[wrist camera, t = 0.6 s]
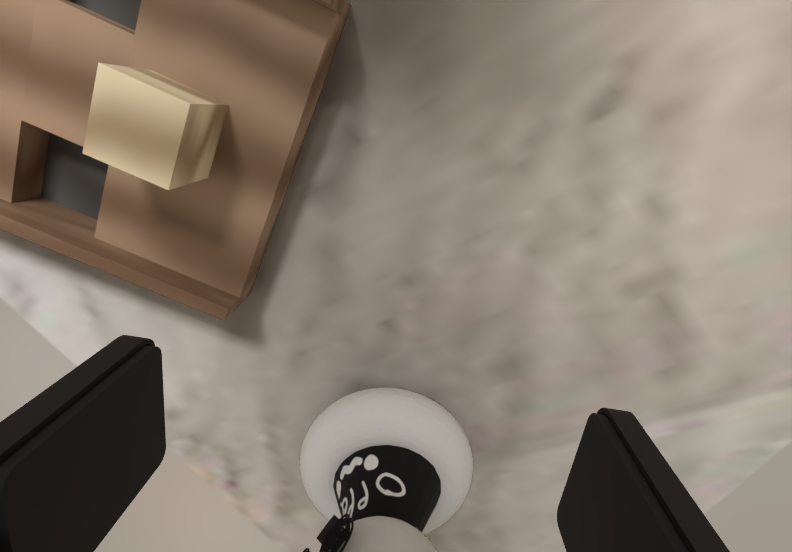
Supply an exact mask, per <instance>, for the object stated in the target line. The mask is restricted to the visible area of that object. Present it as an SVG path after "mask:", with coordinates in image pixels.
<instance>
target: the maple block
mask: <svg viewBox="0 0 792 552" xmlns="http://www.w3.org/2000/svg"><path fill="white" fill-rule="evenodd" d="M227 109H228V104H225V103H223V102H221V101H219V100H217V99H214V98H212V97H210V96H208V95H206V94H203V93H201V92H199V91H197V90H195V89H192V88H190V87H188V86H186V85H184V84H181V83H179V82H177V81H175V80H173V79H170V78H168V77H166V76H164V75H162V74H159V73H157V72H155V71H153V70H146V69H139V68H133V67H126V66H119V65H112V64H105V63H99V62H98V67H97V73H96V78H95V84H94V90H93V95H92V101H91V107H90V112H89V118H88V124H87V130H86V135H85V141H84V147H83V152H82V153H83V154H85V155H88V156H90V157H92V158H95V159H97V160H99V161H101V162H104V163H106V164H108V165H111V166H113V167H115V168H118V169H120V170H122V171H125V172H127V173H129V174H132V175H134V176H136V177H139V178H141V179H143V180H146V181H148V182H150V183H153V184H155V185H157V186H160V187H162V188H164V189H167V190H171V189H174V188H177V187H181V186H184V185H187V184H190V183H193V182H197V181H200V180H203V179H206V178H208V176H209V173H210V169H211V166H212V162H213V159H214V155H215V151H216V148H217V144H218V141H219V137H220V134H221V130H222V127H223V123H224V119H225V116H226V112H227Z"/></svg>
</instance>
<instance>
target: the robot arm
mask: <svg viewBox="0 0 792 552" xmlns="http://www.w3.org/2000/svg"><path fill="white" fill-rule="evenodd" d="M165 450H166V439H165V418H164V396H163V374H162V354H161V350H160V348H159V347H155V344H154V342H153V341H152V340H151V339H147V338H141V337H134V336H128V335H122V336H120V337H118V338H117V339H115V340H114V341H113V342H111V343H110V344H108V345H107V346H106V347H104V348H103V349H101V350H100V351H99V352H97V353H96V354H94V355H93V356H92V357H90V358H89V359H88V360H86V361H85V362H83V363H82V364H81V365H79V366H78V367H76V368H75V369H74V370H73V371H71V372H70V373H68V374H67V375H65V376H64V377H63V378H61V379H60V380H58V381H57V382H56V383H54V384H53V385H51V386H50V387H49V388H47V389H46V390H44V391H43V392H42V393H40V394H39V395H38V396H36V397H35V398H33V399H32V400H31V401H29V402H28V403H26V404H25V405H24V406H23V407H21V408H20V409H18V410H17V411H15V412H14V413H13V414H11V415H10V416H8V417H7V418H6V419H4V420H3V421H1V422H0V552H93V551H94V550H95V549H96V548H97V546H98V545H99V544H100V543H101V541H102V540H103V539H104V537H105V536H106V535H107V533H108V532H109V531H110V529H111V528H112V527H113V526H114V524H115V523H116V522H117V520H118V519H119V518H120V516H121V515H122V514H123V512H124V511H125V510H126V508H127V507H128V506H129V504H130V503H131V502H132V500H133V499H134V498H135V497H136V495H137V494H138V493H139V491H140V490H141V489H142V487H143V486H144V485H145V483H146V482H147V481H148V480H149V478H150V477H151V476H152V474H153V473H154V471H155V470H156V469H157V468H158V466H159V465H160V463H161V462H162V460H163V457H164V454H165ZM557 521H558V527H559V530H560V533H561V536H562V539H563V542H564V545H565V548H566V551H567V552H730V551H729V550H728V549H727V547H726V546H725V544H724V543H723V541H722V540H721V539H720V537H719V536H718V534H717V533H716V531H715V530H714V529H713V527H712V526H711V524H710V523H709V522H708V520H707V519H706V517H705V516H704V514H703V513H702V511H701V510H700V509H699V507H698V506H697V504H696V503H695V501H694V500H693V499H692V497H691V496H690V494H689V493H688V491H687V490H686V489H685V487H684V486H683V484H682V483H681V482H680V480H679V479H678V477H677V476H676V474H675V473H674V472H673V470H672V469H671V467H670V466H669V464H668V463H667V462H666V460H665V459H664V457H663V456H662V454H661V453H660V452H659V450H658V449H657V447H656V446H655V444H654V443H653V442H652V440H651V439H650V437H649V436H648V434H647V433H646V432H645V430H644V429H643V427H642V426H641V424H640V423H639V422H638V420H637V419H636V417H635V416H634V415H633V414H632V413H631V412H628V411H622V410H615V409H608V408H601V409H600V410H599V411H598V412H597V414H596V413H592V414H591V415H590V416H589V418H588V421H587V424H586V427H585V429H584V432H583V435H582V438H581V441H580V444H579V447H578V450H577V453H576V456H575V459H574V462H573V465H572V468H571V471H570V474H569V477H568V480H567V483H566V486H565V488H564V491H563V494H562V497H561V500H560V503H559V506H558V511H557Z"/></svg>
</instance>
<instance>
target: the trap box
mask: <svg viewBox="0 0 792 552" xmlns="http://www.w3.org/2000/svg"><path fill="white" fill-rule="evenodd" d="M350 6H351V5H350V4H349V2H348V1H347V0H0V229H2V230H4V231H7V232H9V233H11V234H14V235H16V236H19V237H21V238H24V239H26V240H29V241H31V242H33V243H36V244H38V245H41V246H43V247H46V248H48V249H51V250H53V251H55V252H58V253H60V254H63V255H65V256H68V257H70V258H73V259H75V260H77V261H80V262H82V263H85V264H87V265H90V266H92V267H95V268H97V269H100V270H102V271H104V272H107V273H109V274H112V275H114V276H117V277H119V278H122V279H124V280H126V281H129V282H131V283H134V284H136V285H139V286H141V287H144V288H146V289H148V290H151V291H153V292H156V293H158V294H161V295H163V296H166V297H168V298H170V299H173V300H175V301H178V302H180V303H183V304H185V305H188V306H190V307H192V308H195V309H197V310H200V311H202V312H205V313H207V314H210V315H212V316H214V317H217V318H219V319H222V320H224V321H225V320H226V319H227V318H228V317H229V316H230V314H231V313H232V312H233V311H234V310H235V309H236V308H237V307H238V306H239V305H240V304H241V303H242V302H243V301H244V300H245V299H246V298H247V297H248V296H249V294H250V293H251V290H252V287H253V285H254V282H255V279H256V276H257V273H258V270H259V267H260V265H261V262H262V259H263V256H264V253H265V250H266V247H267V244H268V242H269V239H270V236H271V233H272V230H273V227H274V224H275V222H276V219H277V216H278V213H279V210H280V207H281V204H282V201H283V199H284V196H285V193H286V190H287V187H288V184H289V181H290V179H291V176H292V173H293V170H294V167H295V164H296V161H297V158H298V156H299V153H300V150H301V147H302V144H303V141H304V138H305V135H306V133H307V130H308V127H309V124H310V121H311V118H312V115H313V113H314V110H315V107H316V104H317V101H318V98H319V95H320V92H321V90H322V87H323V84H324V81H325V78H326V75H327V72H328V70H329V67H330V64H331V61H332V58H333V55H334V52H335V49H336V47H337V44H338V41H339V38H340V35H341V32H342V29H343V26H344V24H345V21H346V18H347V15H348V12H349V9H350ZM98 62H99V63H105V64H112V65H119V66H126V67H133V68H139V69H146V70H153V71H155V72H157V73H159V74H162V75H164V76H166V77H168V78H170V79H173V80H175V81H177V82H179V83H181V84H184V85H186V86H188V87H190V88H192V89H195V90H197V91H199V92H201V93H203V94H206V95H208V96H210V97H212V98H214V99H217V100H219V101H221V102H223V103H225V104H228V109H227V112H226V116H225V119H224V123H223V127H222V130H221V134H220V137H219V141H218V144H217V148H216V151H215V155H214V159H213V162H212V166H211V169H210V173H209V176H208V178H206V179H203V180H200V181H197V182H193V183H190V184H187V185H184V186H181V187H177V188H174V189H171V190H167V189H164V188H162V187H160V186H157V185H155V184H153V183H150V182H148V181H146V180H143V179H141V178H139V177H136V176H134V175H132V174H129V173H127V172H125V171H122V170H120V169H118V168H115V167H113V166H111V165H108V164H106V163H104V162H101V161H99V160H97V159H95V158H92V157H90V156H88V155H85V154H83V153H82V152H83V147H84V141H85V135H86V130H87V124H88V118H89V112H90V107H91V101H92V95H93V90H94V84H95V78H96V73H97V67H98Z"/></svg>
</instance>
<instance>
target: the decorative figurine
mask: <svg viewBox="0 0 792 552" xmlns="http://www.w3.org/2000/svg"><path fill="white" fill-rule="evenodd" d="M300 471H301V478H302V482H303V485H304V487H305V490H306V492H307V495H308V496H309V498H310V500H311V501H312V503H313V504H314V506H315V507H316V508H317V509H318V511H319V512H320V513H321V514H322V515H323V516H324V517H325V518H327V519H328V520H329V522H328V523H327V525H326V526H325V527H324V529H323V530H322V531H321V533H320V534H319V536H318V537H317V539H318V540H319V541H320V542H321V544H322V545H321V549H320V551H319V552H438V551H437V550H436V549H435V547H434V546H433V545H432V543H431V542H430V541H429V539H427V538H426V537H425V536H424V535H423V534H426V533H429V532H431V531H433V530H434V529H436V528H438V527H440V526H441V525H442V524H444V523H445V522H446V521H448V520H449V519H450V518H451V517H452V516H453V515H454V514H455V513H456V511H457V510H458V509H459V508H460V506H461V505H462V503H463V502H464V500H465V498H466V496H467V493H468V491H469V489H470V485H471V481H472V476H473V458H472V452H471V448H470V445H469V441H468V439H467V437H466V435H465V433H464V431H463V429H462V427H461V426H460V425H459V423H458V422H457V421H456V419H455V418H454V417H453V416H452V415H451V414H450V413H449V412H448V411H447V410H446V409H445V408H444V407H442V406H441V405H439V404H438V403H436V402H435V401H433V400H431V399H429V398H428V397H425V396H423V395H421V394H418V393H416V392H412V391H408V390H404V389H397V388H385V387H383V388H370V389H366V390H361V391H358V392H355V393H351V394H349V395H347V396H344V397H342V398H340V399H339V400H337V401H335V402H334V403H332V404H331V405H330V406H328V407H327V408H326V409H325V410H324V411H323V412H322V413H321V414H320V415H319V416H318V417H317V418H316V419H315V421H314V422H313V423H312V425H311V427H310V428H309V430H308V432H307V434H306V437H305V439H304V441H303V445H302V448H301V456H300ZM306 550H308V551H306ZM303 552H310V551H309V548H306V549H305V550H304V551H303Z"/></svg>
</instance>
